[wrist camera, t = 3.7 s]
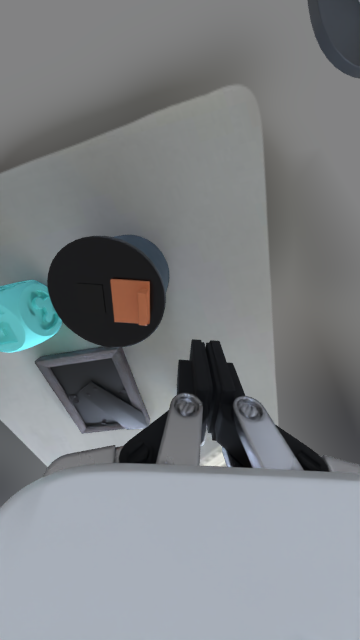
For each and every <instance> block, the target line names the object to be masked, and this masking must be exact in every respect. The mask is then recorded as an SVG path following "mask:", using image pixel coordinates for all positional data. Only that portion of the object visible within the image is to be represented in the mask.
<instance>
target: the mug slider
mask: <svg viewBox="0 0 360 640" xmlns="http://www.w3.org/2000/svg"><path fill="white" fill-rule="evenodd" d="M110 282H111V292H112V302H113V312H114V321H115V322H125V323H139V325H144V326H146V325H147V324H150V281H137V280H122V279H111V280H110Z"/></svg>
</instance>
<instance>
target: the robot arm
mask: <svg viewBox="0 0 360 640" xmlns="http://www.w3.org/2000/svg"><path fill="white" fill-rule="evenodd" d="M359 2H360V0H359ZM206 427H207V430H208V433H211V434H212V440H214V441H217V442H218V443H219V444H220V445H221V446H222V452H223V456H224V459H225V462H226V465H227V467H217V466H199V464H200V447H201V443H202V442H203V441H204V437H205V432H206ZM0 640H360V465H358V464H355V463H351V462H347V461H344V460H340V459H336V458H333V457H329V456H325V455H323V457H320V456H319V455H318V454H317V453H315V452H314V451H313V450H312V449H310V448H309V447H307V446H306V445H304V444H303V443H301V442H300V441H299V440H297V439H296V438H294V437H293V436H291V435H290V434H288V433H287V432H285V431H284V430H282V429H281V428H280V427H278V426H277V425H275V424H274V422H273V421H272V419H271V417H270V416H269V414H268V413H267V411H266V409H265V408H264V407H263V405H262V404H261V403H260V402H259V401H257V400H256V399H254V398H252V397H248V396H245V394H244V391H243V389H242V386H241V383H240V381H239V378H238V375H237V373H236V370H235V368H234V365H233V363H227V362H226V359H225V356H224V353H223V350H222V347H221V344H220V342H219V341H210V342H209V343H206V349H205V344H204V342H201V340H193V339H192V342H191V351H190V360H179V363H178V378H177V395H176V396H175V397H174V398H173V399H172V401H171V404H170V408H169V410H168V411H167V412H166V413H165V414H163V415H162V416H161V417H159V418H158V419H157V420H155V421H154V422H153V423H151V424H150V425H149V426H147V427H146V428H145V429H144V430H142V431H141V432H140V433H138V434H137V435H136V436H134V437H133V438H132V439H130V440H129V441H128V442H127V443H126V444H125V445H124V446H121V447H115V445H113V446H107V447H102V448H97V449H92V450H86V451H81V452H76V453H71V454H66V455H63V456H61V457H59V458H57V459H56V460H54V461H53V462H52V463H51V464H50V465H49V466H48V468H47V469H46V471H45V473H44V475H43V477H42V478H40V479H38V480H36V481H35V482H33V483H31V484H29V485H27V486H26V487H24V488H22V489H21V490H19V491H18V492H17V493H15V494H14V495H13V496H12V497H11V498H10V499H9V500H8V501H7V502H6V503H5V504H3V506H2V507H1V508H0Z"/></svg>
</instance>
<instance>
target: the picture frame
mask: <svg viewBox="0 0 360 640" xmlns="http://www.w3.org/2000/svg"><path fill="white" fill-rule="evenodd" d="M35 364H36V365H37V367H38V368H39V370H40V371H41V373H42V374H43V376H44V377H45V379H46V380H47V382H48V383H49V385H50V386H51V388H52V389H53V391H54V392H55V394H56V395H57V397H58V398H59V400H60V401H61V403H62V404H63V406H64V407H65V409H66V410H67V412H68V413H69V415H70V416H71V418H72V419H73V421H74V422H75V424H76V425H77V427H78V428H79V430H80V431H81V433H82V434H83V433H92V432H100V431H109V430H118V429H127V430H128V429H141V428H146V427H147V426H149V423H150V418H149V416H148V413H147V410H146V408H145V405H144V403H143V400H142V398H141V395H140V393H139V390H138V388H137V385H136V383H135V380H134V377H133V375H132V372H131V370H130V367H129V365H128V362H127V360H126V357H125V355H124V352H123V350H122V347H106V346H105V347H99V348H93V349H86V350H80V351H73V352H67V353H61V354H54V355H48V356H42V357H39V358H38V359H37V360H36V361H35Z"/></svg>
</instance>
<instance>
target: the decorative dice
mask: <svg viewBox="0 0 360 640" xmlns="http://www.w3.org/2000/svg"><path fill="white" fill-rule="evenodd" d="M61 324H62V320H61V319H60V317H59V316H58V314H57V313H56V311H55V309H54V307H53V305H52V303H51V300H50V297H49V292H48V287H47V286H45V285H43V284H42V283H40V282H38V281H36V280H27V281H21V282H17V283H12V284H8V285H4V286H0V351H1V352H16V351H21V350H24V349H27V348H30V347H33V346H35V345H37V344H40V343H42V342H44V341H45V340H47V339H49V338H51V337H52V336H53V335H55V334H56V333H57V332H58V331H59V329H60V327H61Z"/></svg>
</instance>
